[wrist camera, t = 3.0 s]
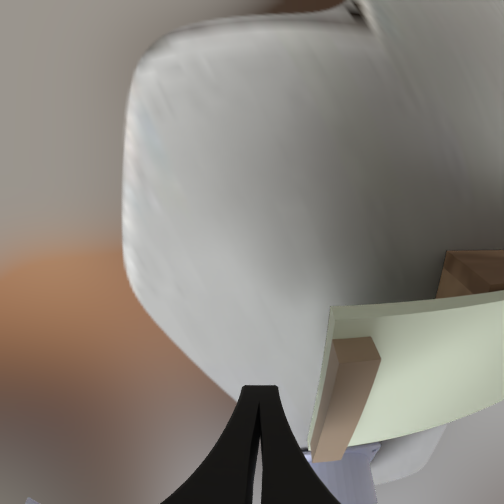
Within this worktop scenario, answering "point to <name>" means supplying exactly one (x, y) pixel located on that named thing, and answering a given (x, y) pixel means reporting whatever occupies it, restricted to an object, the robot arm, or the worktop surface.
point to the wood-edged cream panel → (406, 369)
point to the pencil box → (471, 273)
